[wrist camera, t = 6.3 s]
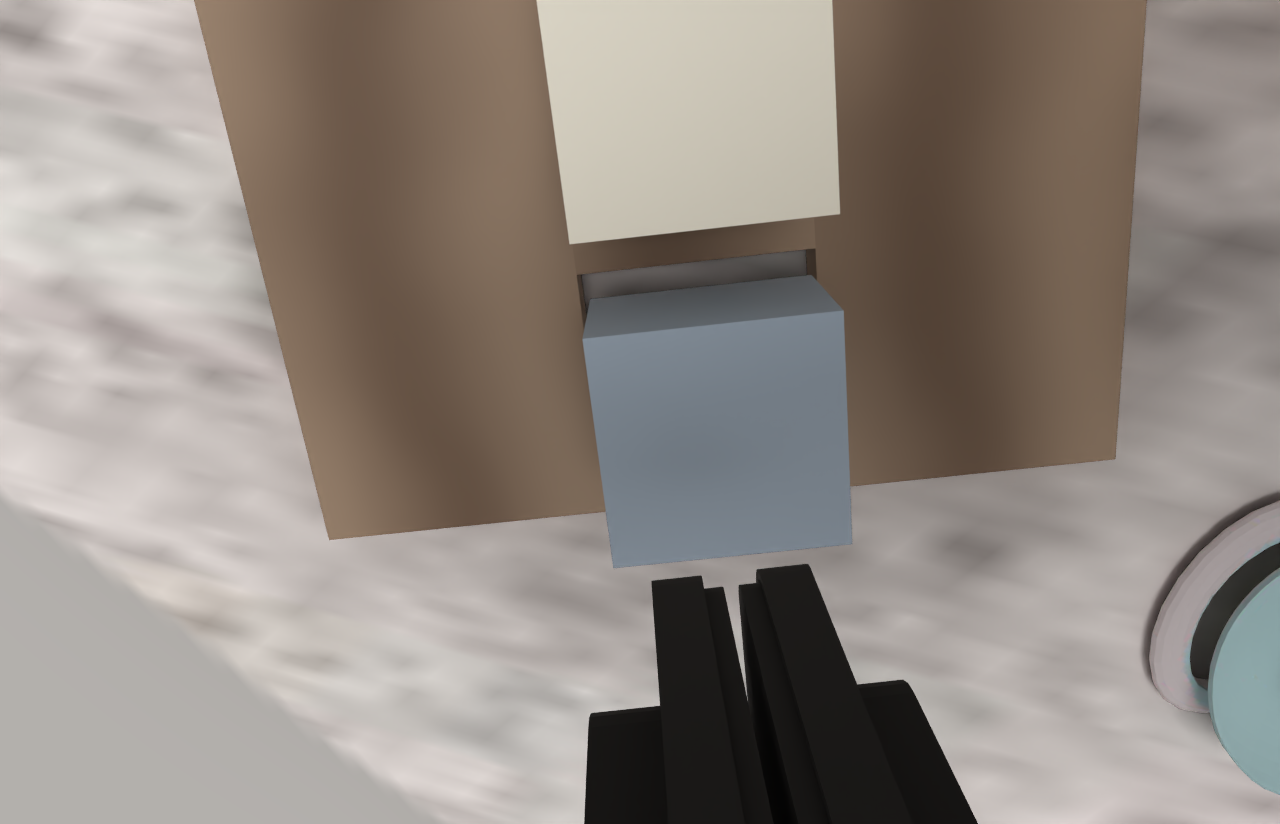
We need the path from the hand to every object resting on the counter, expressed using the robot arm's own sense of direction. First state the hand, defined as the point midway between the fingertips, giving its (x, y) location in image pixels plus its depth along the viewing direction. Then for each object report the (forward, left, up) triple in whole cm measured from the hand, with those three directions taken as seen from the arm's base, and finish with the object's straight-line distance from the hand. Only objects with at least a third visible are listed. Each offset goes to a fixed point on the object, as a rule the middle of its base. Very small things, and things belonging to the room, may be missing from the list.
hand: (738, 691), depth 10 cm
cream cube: (0, -6, -10) cm, 12 cm away
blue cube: (0, 0, -10) cm, 10 cm away
